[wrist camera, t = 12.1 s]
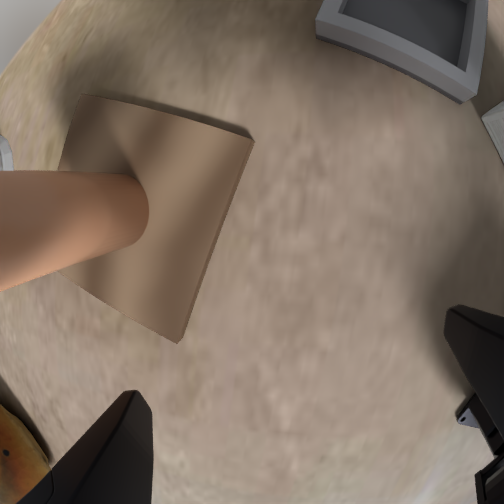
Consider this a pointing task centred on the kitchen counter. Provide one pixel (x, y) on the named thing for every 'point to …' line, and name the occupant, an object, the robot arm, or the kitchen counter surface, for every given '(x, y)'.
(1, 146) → the french press
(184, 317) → the mat
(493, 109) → the skincare box
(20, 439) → the ceramic pitcher
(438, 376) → the kitchen counter surface
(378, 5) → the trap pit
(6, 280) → the terracotta canister
